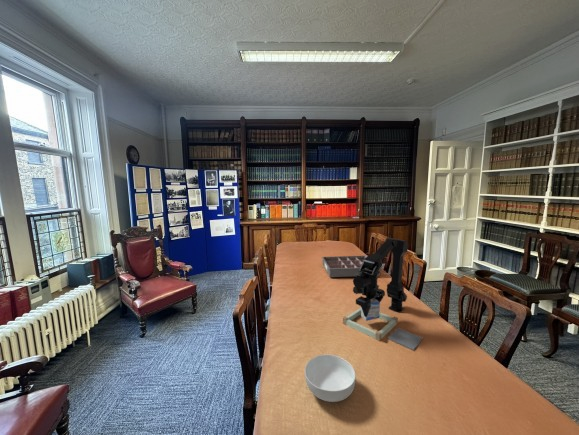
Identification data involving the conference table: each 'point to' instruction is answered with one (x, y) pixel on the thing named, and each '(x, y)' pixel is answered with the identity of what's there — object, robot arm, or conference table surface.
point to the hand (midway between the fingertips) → (370, 313)
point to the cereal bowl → (330, 377)
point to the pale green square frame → (367, 331)
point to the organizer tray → (343, 265)
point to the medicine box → (372, 310)
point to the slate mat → (405, 338)
